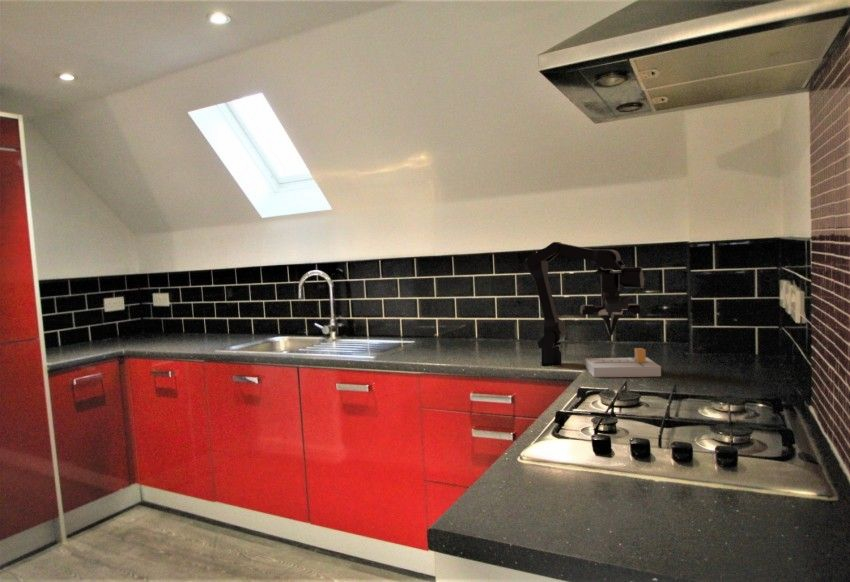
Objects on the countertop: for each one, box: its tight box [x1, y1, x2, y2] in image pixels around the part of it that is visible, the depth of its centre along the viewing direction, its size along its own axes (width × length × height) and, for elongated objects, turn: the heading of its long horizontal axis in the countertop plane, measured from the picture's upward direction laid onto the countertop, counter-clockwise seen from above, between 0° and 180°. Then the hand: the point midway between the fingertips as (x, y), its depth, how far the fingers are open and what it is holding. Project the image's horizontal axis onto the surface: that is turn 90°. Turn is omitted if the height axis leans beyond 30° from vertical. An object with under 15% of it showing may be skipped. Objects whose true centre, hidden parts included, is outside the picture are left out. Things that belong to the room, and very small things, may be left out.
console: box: [584, 356, 662, 378], centre depth 189 cm, size 20×16×3 cm
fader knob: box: [634, 347, 647, 363], centre depth 188 cm, size 2×4×6 cm, turn 174°
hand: (610, 335), depth 194 cm, fingers closed
